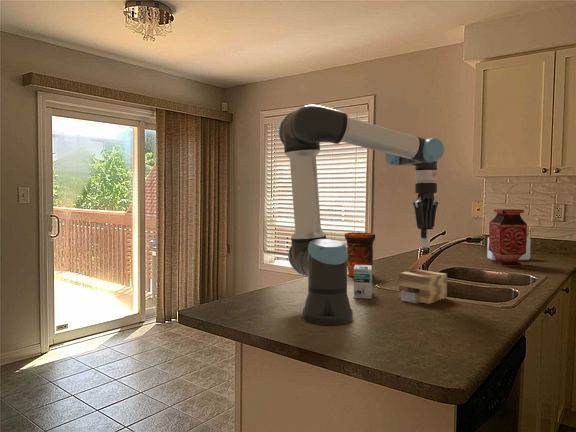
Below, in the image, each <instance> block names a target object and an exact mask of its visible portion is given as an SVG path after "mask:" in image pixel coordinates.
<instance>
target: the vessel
mask: <svg viewBox="0 0 576 432" xmlns="http://www.w3.org/2000/svg"><path fill="white" fill-rule="evenodd" d="M344 239H345V240H346V247H347V254H348V259H347V276H350V277H354V266H355V265H372V266H373V265H374V264H373V260H374V257H373V256H374V255H373V254H374V253H373V251H374V249H373V245H374V241H375V240H376V234H375V233H374V232H357V231H356V232H354V231H351V232H345V233H344ZM373 277H374V274H372V278H373Z"/></svg>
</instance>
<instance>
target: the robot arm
mask: <svg viewBox="0 0 576 432" xmlns="http://www.w3.org/2000/svg"><path fill="white" fill-rule="evenodd" d="M278 137H279V140H280V142H281V143H282V144H283V149H284V155H285V156H286V157H287V158H288V159H289V165H290V167H289V168H290V169H289V170H290V180H291V182H290V183H291V191H292V192H291V194H292V206H293V207H292V208H293V221H294V233H292V235H291V236H290V237H291V238H290V239H291V241H290V243H291V245H290V247H289V250H288V253H287V255H288V257H287V258H288V263H289V264H290V266H291V268H292V269H294V270H295V272H297V273H298V274H299V275H302V276H306V277H308V278H307V279H308V280H307V281H308V282H307V284H308V285H307V286H308V292H307V297H306V300H305V305H304V306H303V309H302V320H303V321H305V322H307V323H309V324H314V325H321V326H339V325H344V324H348V323H351V322H352V321H353V319H354V318H353V317H354V315H353V313H354V312H353V309H352V308H351V303H350V299H349V296H348V275H347V274H348V267H347V259H348V254H347V244H345V243H344V242H342V241H339V240H337V239H332V238H331V239H328V238H327V233H325V231H323V230H322V226H321V209H320V208H321V207H320V196H319V195H320V194H319V182H318V181H319V180H318V167H317V166H318V165H317V155H319V154H320V152H321V143H332V144H335V145H340V143H345V144H347V145H349V144H350V145H353V146H357V147H360V148H364V149H368V150H371V151H377V152H381V153H384V159H385V161H386V163H387V164H388V165H389V166H396V167H397V166H402V167H403V166H404V167H405V166H409V167H410V166H414V168H415V169H414V171H415V172H414V173H415V175H414V181H415V182H416V183H415V184H414V185H415V186H414V188H415V190H414V192H415V194H417V200H416V201H413V203H412V205H413V208H414V213H415V220H416V222H415V223H416V227H417V228H418V230H420V248H427V249H428V248H429V249H430V248H431V230H434V227H435V221H436V215H437V208H438V205H439V201H436V200H435V195H434V194H436V193H437V192H438V183H436V182H438V161H440V160H441V159H442V158H443V156H444V154H445V146H444V145H445V144H444V143H443V142H442V140H441V139H439V138H438V137H428V138H424V137H420V136H417V135H413V134H409V133H405V132H403V131H402V132H401V131H398V130H395V129H391V128H388V127H384V126H380V125H377V124H373V123H369V122H367V121H363V120H360V119H356V118H352V117H349V115H348V114H347V113H346V112H344V111H341V110H338V109H337V110H336V109H334V108H330V107H327V106H326V107H325V106H323V105H317V104H308V105H307V104H306V105H304V106H301V107H300V108H298V109H296V110H293V111H292V112H290V113H288V114H287V115H286V116H285V117H284V118H283V119H282V120H281V121H280V124H279V127H278Z"/></svg>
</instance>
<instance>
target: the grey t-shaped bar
mask: <svg viewBox="0 0 576 432" xmlns="http://www.w3.org/2000/svg"><path fill="white" fill-rule="evenodd" d="M400 301H401V302H406V303H410V304H419V303H421V302H420V290H419V291H415V292H414V291H409V290H404V291H401V298H400Z"/></svg>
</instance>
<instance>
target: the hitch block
mask: <svg viewBox="0 0 576 432" xmlns="http://www.w3.org/2000/svg"><path fill="white" fill-rule="evenodd" d="M404 290H409V291H414V292H415V291H419V290H420V302H419V303H422V304H423V303H424V304H427V305H429V304H433V303H436V302H439V301H438V300H440V301H442V300H441V299H443V298H447V299H448V273H446V272H445V273H444V272H437V271H430V270H424V269H416V270H411V271H403V272H399V274H398V298H399V299H401V291H404ZM443 300H444V299H443ZM435 301H436V302H435Z"/></svg>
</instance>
